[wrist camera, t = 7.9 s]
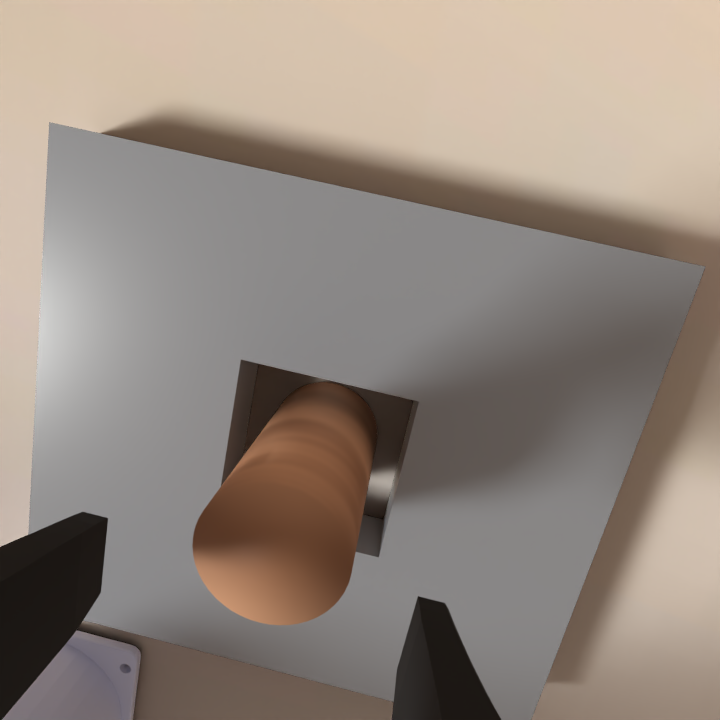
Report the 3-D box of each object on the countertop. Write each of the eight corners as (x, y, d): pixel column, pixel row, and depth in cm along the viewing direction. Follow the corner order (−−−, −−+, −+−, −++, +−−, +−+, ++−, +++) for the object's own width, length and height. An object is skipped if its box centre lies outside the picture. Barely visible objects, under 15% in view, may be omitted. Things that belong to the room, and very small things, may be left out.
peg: (365, 489, 21) (335, 642, 14) (267, 465, 22) (184, 603, 14) (387, 395, 20) (368, 504, 13) (283, 371, 21) (202, 464, 13)
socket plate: (513, 682, 23) (524, 736, 21) (64, 565, 24) (25, 604, 22) (667, 259, 18) (705, 266, 16) (95, 134, 19) (49, 122, 17)
